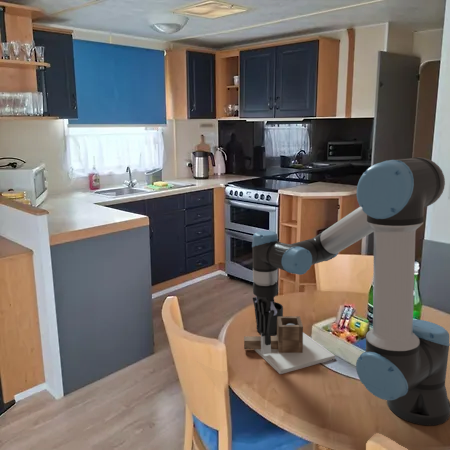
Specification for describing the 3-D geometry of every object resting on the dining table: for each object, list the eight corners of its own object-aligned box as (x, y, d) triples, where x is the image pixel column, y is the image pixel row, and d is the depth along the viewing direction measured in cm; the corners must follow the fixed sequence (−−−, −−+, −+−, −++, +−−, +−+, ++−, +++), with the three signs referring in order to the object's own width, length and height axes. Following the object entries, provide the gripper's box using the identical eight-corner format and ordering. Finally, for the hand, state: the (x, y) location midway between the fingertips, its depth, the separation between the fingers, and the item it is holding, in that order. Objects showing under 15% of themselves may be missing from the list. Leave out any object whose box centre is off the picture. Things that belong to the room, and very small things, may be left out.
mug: (275, 320, 169) (275, 297, 166) (286, 334, 157) (286, 310, 155) (251, 322, 167) (251, 300, 165) (260, 337, 155) (260, 313, 153)
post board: (334, 358, 140) (335, 331, 138) (280, 374, 132) (280, 346, 130) (299, 332, 158) (299, 308, 156) (249, 345, 150) (249, 319, 148)
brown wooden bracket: (299, 341, 149) (299, 316, 147) (302, 352, 142) (303, 326, 140) (244, 341, 150) (243, 316, 148) (244, 352, 143) (243, 326, 141)
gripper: (287, 286, 131) (287, 359, 136) (265, 273, 143) (266, 341, 148) (264, 290, 128) (265, 364, 133) (244, 277, 140) (246, 346, 145)
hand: (265, 352), depth 141 cm, fingers closed
